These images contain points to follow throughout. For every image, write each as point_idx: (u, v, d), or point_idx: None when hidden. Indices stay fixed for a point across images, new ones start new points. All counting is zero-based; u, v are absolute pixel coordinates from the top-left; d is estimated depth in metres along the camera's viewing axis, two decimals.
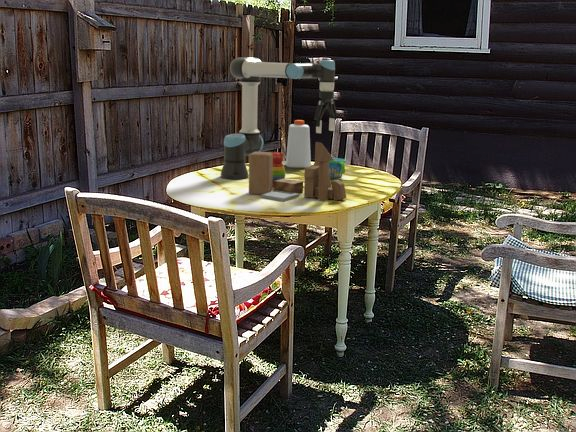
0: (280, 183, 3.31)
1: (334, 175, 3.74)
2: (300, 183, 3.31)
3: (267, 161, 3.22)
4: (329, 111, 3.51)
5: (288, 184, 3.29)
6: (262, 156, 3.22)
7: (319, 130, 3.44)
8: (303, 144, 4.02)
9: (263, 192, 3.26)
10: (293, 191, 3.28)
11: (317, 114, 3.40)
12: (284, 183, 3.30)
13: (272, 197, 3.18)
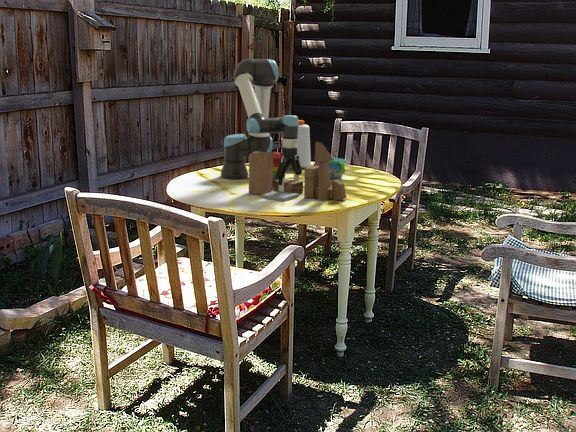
0: None
1: (334, 175, 3.74)
2: (300, 183, 3.31)
3: (267, 161, 3.22)
4: (293, 167, 3.35)
5: (287, 184, 3.29)
6: (262, 156, 3.22)
7: (282, 188, 3.27)
8: (303, 144, 4.02)
9: (263, 192, 3.26)
10: (292, 191, 3.28)
11: (279, 172, 3.24)
12: None
13: (272, 197, 3.18)
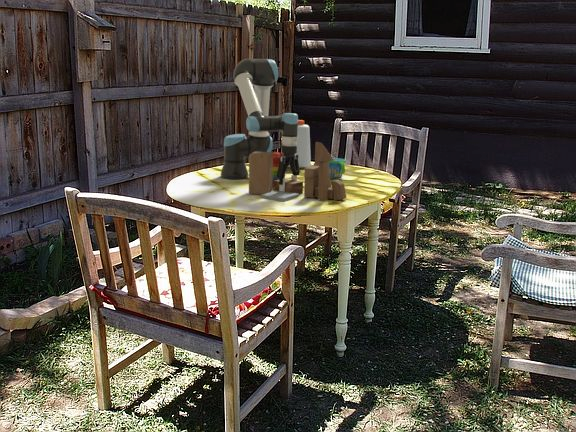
0: None
1: (334, 175, 3.74)
2: (299, 183, 3.30)
3: (267, 161, 3.22)
4: (291, 167, 3.34)
5: (287, 184, 3.29)
6: (262, 156, 3.22)
7: (282, 188, 3.28)
8: (303, 144, 4.02)
9: (263, 192, 3.26)
10: (291, 191, 3.28)
11: (279, 172, 3.24)
12: None
13: (272, 197, 3.18)
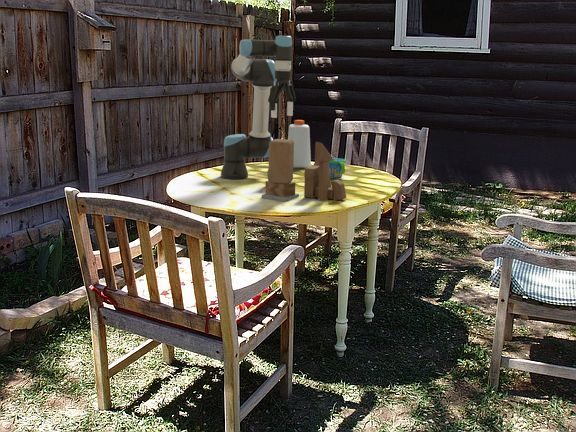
0: (271, 184, 3.20)
1: (334, 175, 3.74)
2: (292, 184, 3.19)
3: (287, 149, 3.12)
4: (286, 93, 3.15)
5: (279, 185, 3.17)
6: (282, 143, 3.12)
7: (274, 114, 3.07)
8: (303, 144, 4.02)
9: (283, 181, 3.16)
10: (283, 192, 3.16)
11: (271, 96, 3.04)
12: (275, 184, 3.18)
13: (272, 197, 3.18)
